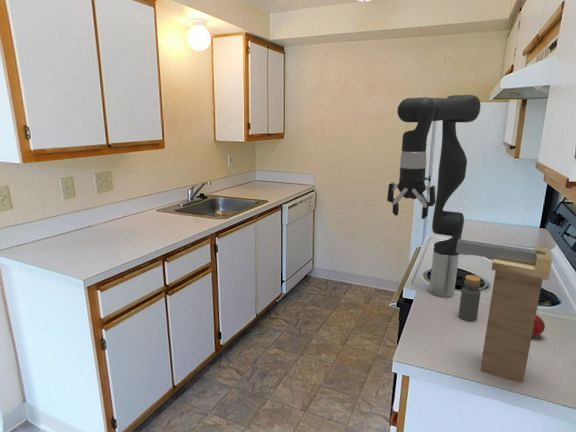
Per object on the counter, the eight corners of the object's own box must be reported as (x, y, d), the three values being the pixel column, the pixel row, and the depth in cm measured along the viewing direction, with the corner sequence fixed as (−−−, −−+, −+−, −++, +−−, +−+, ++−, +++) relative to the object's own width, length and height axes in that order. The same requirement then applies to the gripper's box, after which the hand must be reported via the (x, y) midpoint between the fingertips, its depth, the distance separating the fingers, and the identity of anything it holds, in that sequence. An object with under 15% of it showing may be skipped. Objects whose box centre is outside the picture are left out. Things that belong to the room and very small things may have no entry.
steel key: (458, 245, 108) (460, 235, 107) (546, 259, 97) (548, 248, 97) (454, 256, 99) (455, 245, 98) (549, 272, 89) (551, 260, 88)
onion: (544, 335, 120) (549, 313, 118) (539, 342, 116) (544, 319, 114) (524, 328, 124) (528, 306, 122) (518, 335, 120) (522, 312, 118)
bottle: (478, 322, 128) (484, 281, 124) (460, 320, 129) (465, 280, 125) (474, 314, 133) (479, 274, 130) (456, 312, 135) (461, 273, 131)
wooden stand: (478, 352, 111) (494, 251, 103) (526, 365, 105) (546, 259, 97) (476, 371, 103) (492, 262, 95) (527, 387, 97) (549, 272, 89)
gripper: (386, 166, 115) (383, 216, 120) (434, 168, 108) (430, 222, 112) (393, 163, 121) (391, 211, 126) (439, 165, 114) (435, 216, 118)
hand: (409, 216), depth 119 cm, fingers open, 8 cm apart
